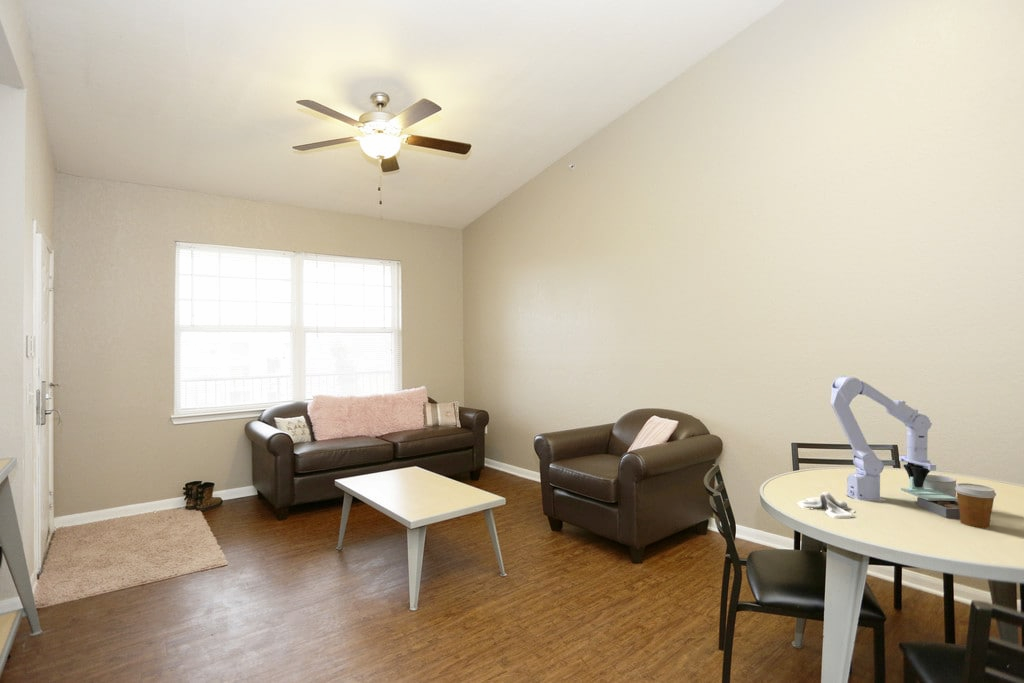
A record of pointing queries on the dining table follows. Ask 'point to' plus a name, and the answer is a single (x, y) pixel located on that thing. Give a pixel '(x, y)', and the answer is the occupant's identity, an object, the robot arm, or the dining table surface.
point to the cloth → (828, 505)
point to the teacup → (941, 484)
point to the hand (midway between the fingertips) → (916, 486)
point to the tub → (939, 508)
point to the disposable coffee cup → (975, 504)
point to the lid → (927, 493)
